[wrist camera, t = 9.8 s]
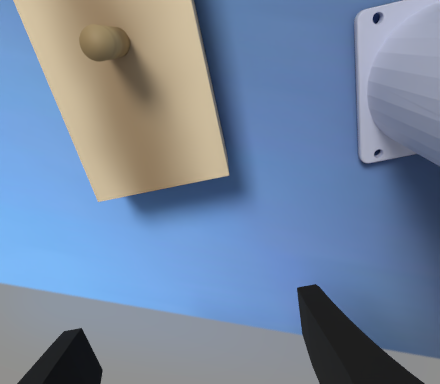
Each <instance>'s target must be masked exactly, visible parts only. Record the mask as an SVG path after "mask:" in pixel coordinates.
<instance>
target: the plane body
mask: <svg viewBox="0 0 440 384" xmlns="http://www.w3.org/2000/svg"><path fill="white" fill-rule="evenodd" d="M13 1H14V3H15V5H16V8H17V10H18V12H19V15H20V17H21V20H22V22H23V24H24V27H25V29H26V31H27V34H28V36H29V39H30V41H31V43H32V46H33V48H34V50H35V53H36V55H37V58H38V60H39V62H40V65H41V67H42V69H43V72H44V74H45V77H46V79H47V81H48V84H49V86H50V88H51V91H52V93H53V96H54V98H55V100H56V103H57V105H58V107H59V110H60V112H61V115H62V117H63V119H64V122H65V124H66V126H67V129H68V131H69V134H70V136H71V138H72V141H73V143H74V145H75V148H76V150H77V153H78V155H79V157H80V160H81V162H82V165H83V167H84V169H85V172H86V174H87V176H88V179H89V181H90V184H91V186H92V188H93V191H94V193H95V195H96V198H97V200H98V202H100V201H105V200H110V199H115V198H120V197H125V196H130V195H135V194H140V193H145V192H150V191H155V190H160V189H165V188H170V187H174V186H179V185H184V184H189V183H194V182H199V181H204V180H209V179H214V178H219V177H224V176H229V167H228V157H227V152H226V147H225V142H224V138H223V133H222V128H221V124H220V119H219V114H218V110H217V105H216V100H215V96H214V91H213V86H212V82H211V77H210V72H209V68H208V63H207V59H206V54H205V49H204V45H203V40H202V35H201V31H200V26H199V21H198V17H197V12H196V7H195V3H194V0H13Z"/></svg>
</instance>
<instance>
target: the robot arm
mask: <svg viewBox="0 0 440 384" xmlns="http://www.w3.org/2000/svg"><path fill="white" fill-rule="evenodd" d="M375 13H378V14H379V16H380V19H379V21H378V23H377V24H374V23H373V20H372V19H373V16H374V14H375ZM354 31H355V62H356V93H357V124H358V155H359V158H360V160H361V161H363V162H364V163H373V162H378V161H383V160H388V159H393V158H399V157H404V156H409V155H414V154H419V155H421V156H422V157H424V158H426V159H428V160H429V161H431V162H433V163H434V164H436V165H438V166H440V0H403V1H399V2H394V3H390V4H386V5H382V6H377V7H373V8H369V9H365V10H362V11H360V12H359V13H358V14H357V16H356V18H355V21H354ZM378 149H380V153H379V154H378V155H376V156H374V152H375V151H376V150H378ZM297 292H298V301H299V309H300V318H301V326H302V334H303V337H304V340H305V344H306V347H307V350H308V353H309V356H310V360H311V363H312V366H313V368H314V371H315V373H316V376H317V378H318V380H319V383H320V384H424V383H423V382H422V381H420V380H419V379H418V378H416V377H415V376H414V375H413V374H411V373H410V372H409V371H407V370H406V369H405V368H404V367H402V366H401V365H400V364H399V363H398V362H396V361H395V360H394V359H393V358H392V357H390V356H389V355H388V354H387V353H385V352H384V351H383V350H382V349H381V348H380V347H379V346H378V345H376V344H375V343H374V342H373V341H372V340H371V339H370V338H369V337H368V336H366V335H365V334H364V333H363V332H362V331H361V330H360V329H359V328H358V327H357V326H356V325H355V324H354V323H353V322H352V321H351V320H350V319H349V318H348V317H347V316H346V315H345V314H344V313H343V312H342V311H341V310H340V309H339V308H338V307H337V306H336V305H335V304H334V303H333V302H332V301H331V300H330V299H329V297H328V296H327V295H326V294H325V293H324V292H323V291H322V289H321V288H320V287H319V286H317V285H316V284H315V285H309V286H304V287H299V288H297ZM101 377H102V368H101V366H100V364H99V362H98V360H97V358H96V356H95V354H94V352H93V350H92V348H91V346H90V344H89V342H88V340H87V338H86V336H85V334H84V332H83V330H82V328H80V329H75V330H69V331H64V332H63V333H62V334H61V335H60V336H59V337H58V338H57V339H56V341H55V342H54V343H53V344H52V345H51V346H50V347H49V348H48V349H47V351H46V352H45V353H44V354H43V355H42V356H41V357H40V359H39V360H38V361H37V362H36V363H35V364H34V365H33V367H32V368H31V369H30V370H29V371H28V372H27V373H26V374H25V376H24V377H23V378H22V379H21V380H20V381H19V382H18V383H17V384H100V383H101Z"/></svg>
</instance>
